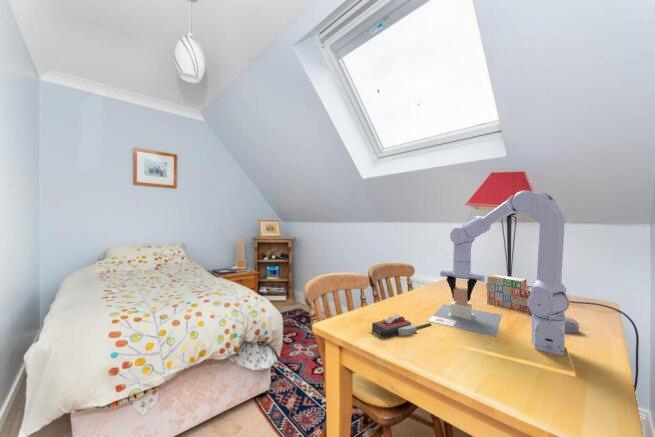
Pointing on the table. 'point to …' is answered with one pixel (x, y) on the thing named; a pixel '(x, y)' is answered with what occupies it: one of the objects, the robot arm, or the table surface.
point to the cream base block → (461, 309)
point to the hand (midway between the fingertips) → (461, 298)
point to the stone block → (571, 325)
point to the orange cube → (460, 294)
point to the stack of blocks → (508, 292)
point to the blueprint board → (468, 321)
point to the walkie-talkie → (395, 327)
